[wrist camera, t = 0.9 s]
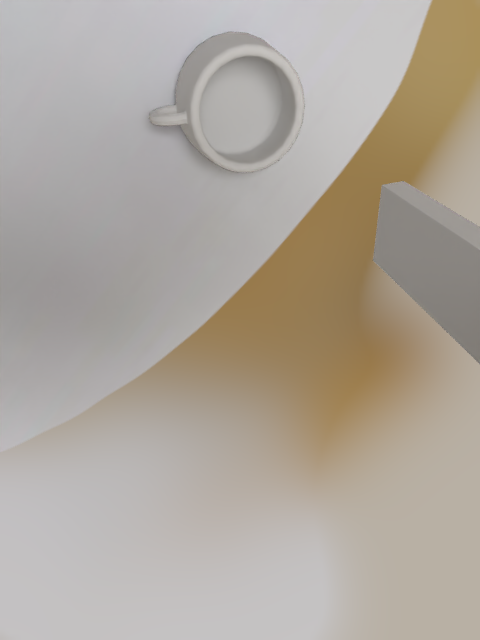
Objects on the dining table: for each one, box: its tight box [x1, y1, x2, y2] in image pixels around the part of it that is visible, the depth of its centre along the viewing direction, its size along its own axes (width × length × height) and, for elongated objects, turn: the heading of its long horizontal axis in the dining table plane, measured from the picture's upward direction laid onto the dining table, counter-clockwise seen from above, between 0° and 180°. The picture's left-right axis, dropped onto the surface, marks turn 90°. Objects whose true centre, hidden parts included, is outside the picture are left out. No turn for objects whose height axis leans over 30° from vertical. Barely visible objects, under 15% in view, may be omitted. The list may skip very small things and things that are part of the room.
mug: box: [149, 32, 305, 173], centre depth 34 cm, size 12×10×6 cm
